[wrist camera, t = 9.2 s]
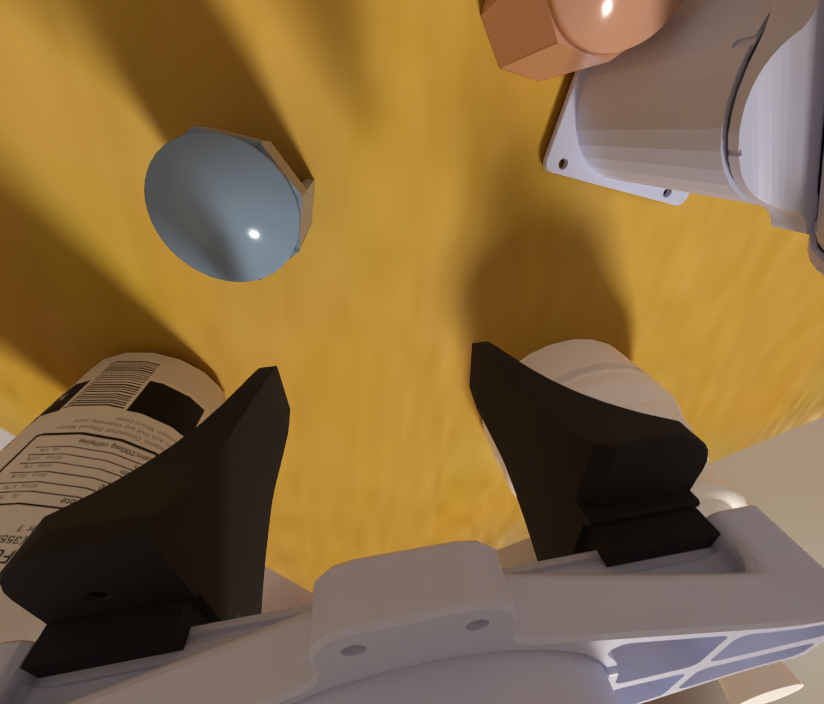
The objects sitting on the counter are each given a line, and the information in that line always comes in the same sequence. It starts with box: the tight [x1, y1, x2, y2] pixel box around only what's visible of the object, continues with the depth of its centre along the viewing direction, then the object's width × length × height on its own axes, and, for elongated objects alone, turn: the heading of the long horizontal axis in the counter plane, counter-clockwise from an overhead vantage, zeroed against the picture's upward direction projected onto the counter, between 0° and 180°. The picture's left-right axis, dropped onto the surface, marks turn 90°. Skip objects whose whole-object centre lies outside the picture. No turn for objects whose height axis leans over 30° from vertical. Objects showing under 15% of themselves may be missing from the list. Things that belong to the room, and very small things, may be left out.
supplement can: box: [0, 353, 226, 643], centre depth 17 cm, size 8×8×15 cm
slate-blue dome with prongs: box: [144, 126, 314, 282], centre depth 15 cm, size 5×5×6 cm
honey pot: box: [482, 339, 804, 704], centre depth 21 cm, size 13×13×18 cm
